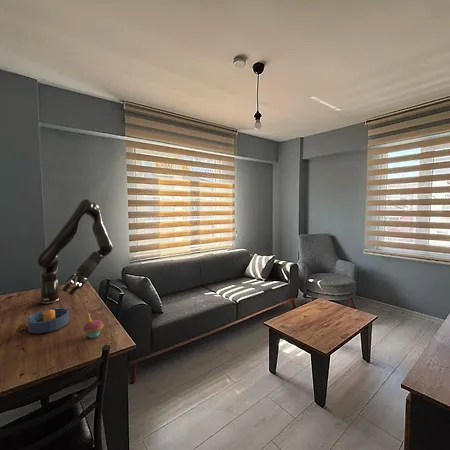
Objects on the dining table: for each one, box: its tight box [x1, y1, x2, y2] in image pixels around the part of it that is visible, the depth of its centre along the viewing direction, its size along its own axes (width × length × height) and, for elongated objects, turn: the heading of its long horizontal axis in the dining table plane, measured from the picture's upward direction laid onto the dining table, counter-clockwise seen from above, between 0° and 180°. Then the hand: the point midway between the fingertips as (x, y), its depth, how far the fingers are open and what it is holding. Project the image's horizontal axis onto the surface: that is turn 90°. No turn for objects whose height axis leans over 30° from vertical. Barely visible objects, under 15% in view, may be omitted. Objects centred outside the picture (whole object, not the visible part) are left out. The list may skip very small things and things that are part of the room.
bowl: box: [26, 307, 70, 334], centre depth 130 cm, size 18×18×6 cm
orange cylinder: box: [43, 309, 55, 322], centre depth 129 cm, size 5×5×8 cm
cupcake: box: [82, 312, 104, 339], centre depth 120 cm, size 9×8×12 cm
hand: (66, 292), depth 136 cm, fingers open, 8 cm apart
